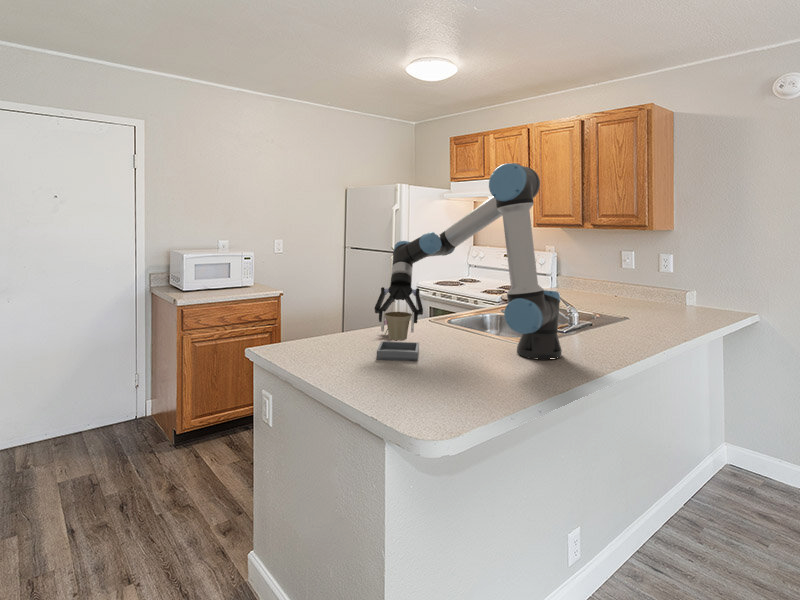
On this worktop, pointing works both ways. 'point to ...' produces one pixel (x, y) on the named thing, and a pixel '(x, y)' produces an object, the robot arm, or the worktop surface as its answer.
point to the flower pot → (398, 325)
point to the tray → (398, 351)
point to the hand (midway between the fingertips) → (397, 329)
